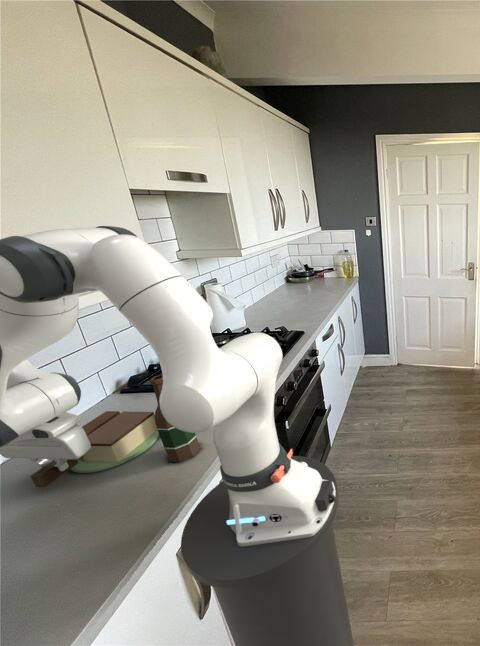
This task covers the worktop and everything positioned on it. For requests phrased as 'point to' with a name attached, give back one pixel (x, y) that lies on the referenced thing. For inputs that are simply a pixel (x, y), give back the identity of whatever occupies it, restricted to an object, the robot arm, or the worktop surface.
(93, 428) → the cake slice
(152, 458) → the worktop surface
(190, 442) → the beer bottle
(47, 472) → the knife
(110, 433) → the cake
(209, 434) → the worktop surface
